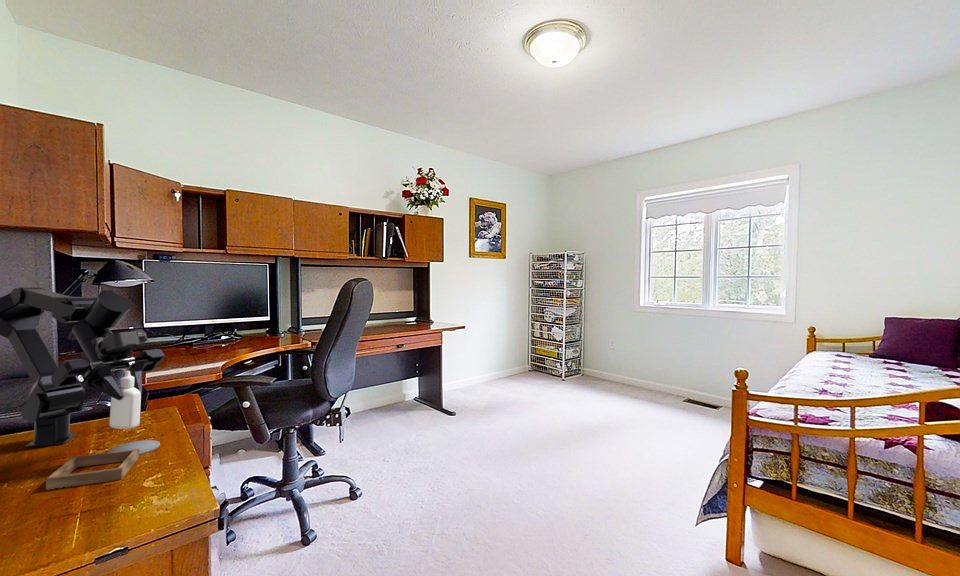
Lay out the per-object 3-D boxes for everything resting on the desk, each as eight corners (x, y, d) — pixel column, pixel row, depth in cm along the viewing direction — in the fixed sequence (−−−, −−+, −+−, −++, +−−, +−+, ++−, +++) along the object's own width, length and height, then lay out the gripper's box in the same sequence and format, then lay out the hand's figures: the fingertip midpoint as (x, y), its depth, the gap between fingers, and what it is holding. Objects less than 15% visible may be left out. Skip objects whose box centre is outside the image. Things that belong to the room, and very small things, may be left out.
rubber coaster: (116, 445, 93) (116, 443, 93) (164, 439, 97) (164, 438, 97) (100, 460, 85) (100, 458, 85) (153, 453, 89) (153, 451, 89)
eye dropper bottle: (113, 432, 84) (117, 374, 84) (108, 425, 87) (111, 370, 88) (140, 427, 87) (143, 372, 88) (134, 421, 91) (137, 368, 91)
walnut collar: (73, 466, 82) (73, 456, 82) (138, 458, 87) (139, 448, 87) (45, 490, 73) (46, 479, 73) (121, 479, 77) (121, 468, 77)
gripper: (63, 320, 80) (98, 382, 77) (161, 315, 98) (193, 365, 94) (35, 356, 82) (69, 418, 79) (136, 345, 100) (167, 394, 97)
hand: (130, 396), depth 87 cm, fingers closed on eye dropper bottle, 3 cm apart
